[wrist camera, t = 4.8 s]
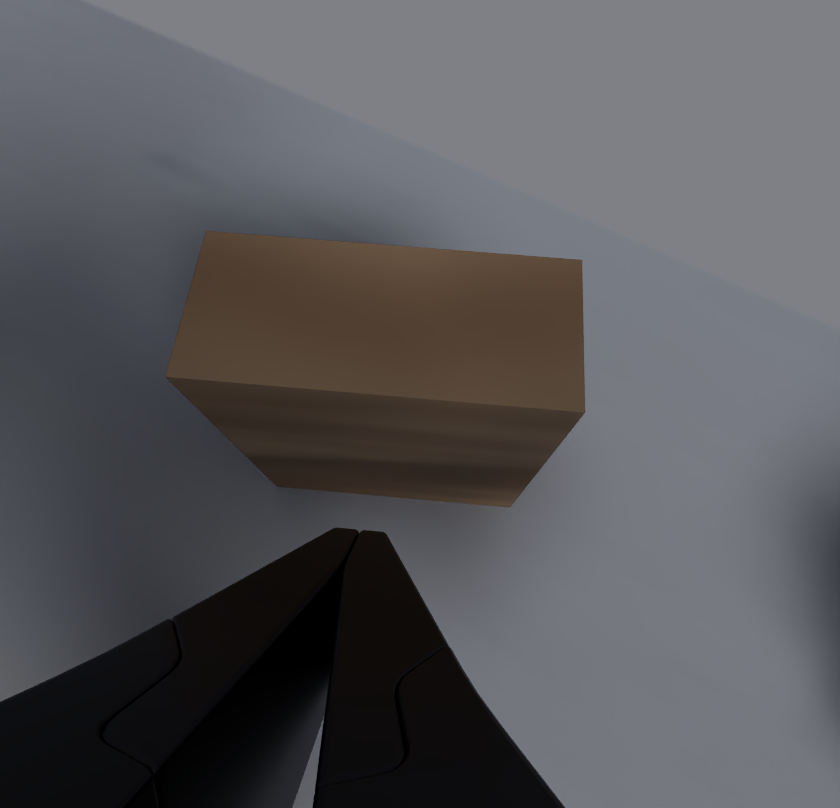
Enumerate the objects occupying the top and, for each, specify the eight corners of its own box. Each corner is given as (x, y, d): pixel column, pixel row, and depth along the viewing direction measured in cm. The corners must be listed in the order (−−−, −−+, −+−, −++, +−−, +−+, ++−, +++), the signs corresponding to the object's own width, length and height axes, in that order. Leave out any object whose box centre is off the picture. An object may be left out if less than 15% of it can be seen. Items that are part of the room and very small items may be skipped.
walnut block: (509, 507, 17) (584, 412, 9) (277, 486, 17) (165, 377, 9) (512, 411, 18) (582, 257, 10) (294, 393, 18) (206, 228, 10)
